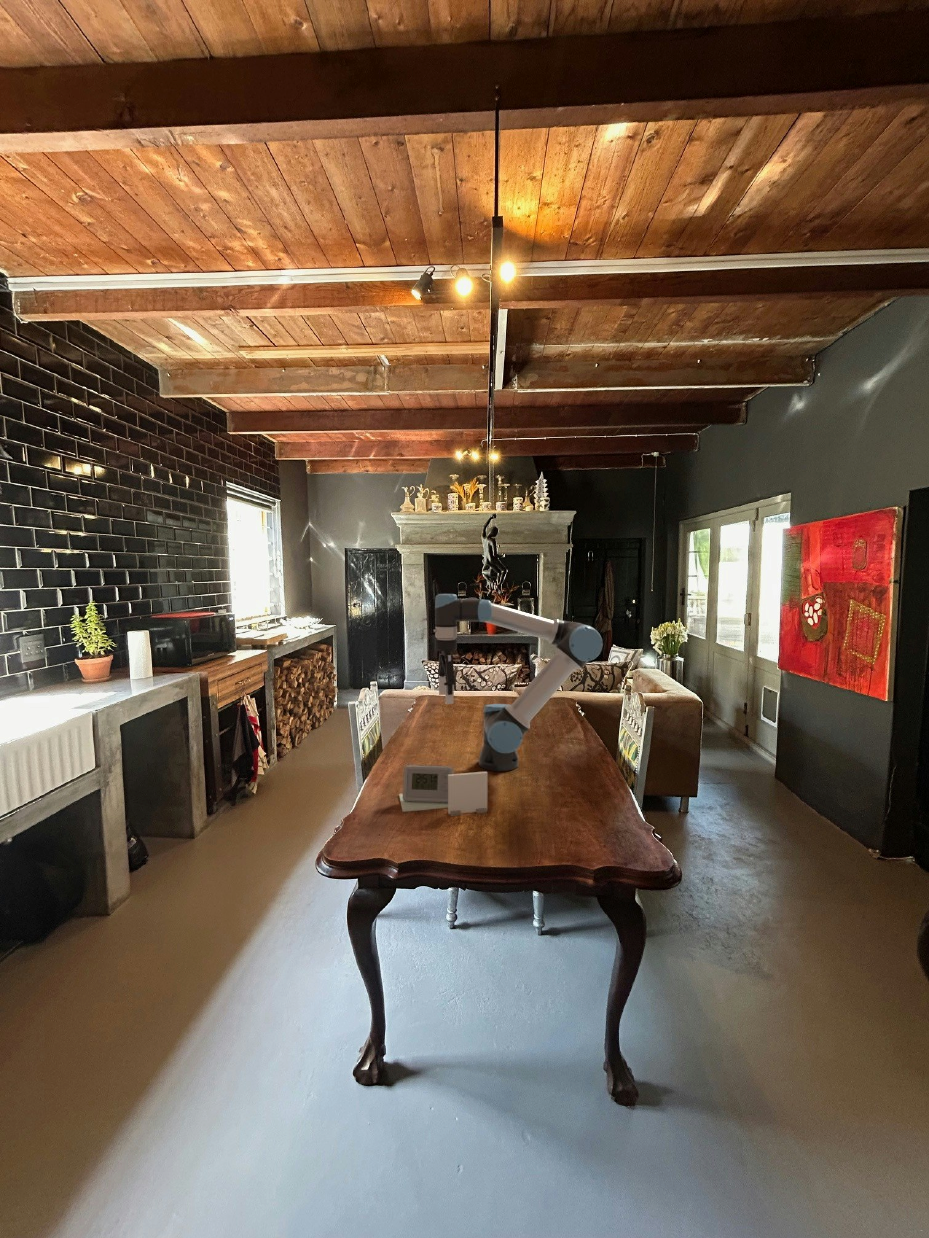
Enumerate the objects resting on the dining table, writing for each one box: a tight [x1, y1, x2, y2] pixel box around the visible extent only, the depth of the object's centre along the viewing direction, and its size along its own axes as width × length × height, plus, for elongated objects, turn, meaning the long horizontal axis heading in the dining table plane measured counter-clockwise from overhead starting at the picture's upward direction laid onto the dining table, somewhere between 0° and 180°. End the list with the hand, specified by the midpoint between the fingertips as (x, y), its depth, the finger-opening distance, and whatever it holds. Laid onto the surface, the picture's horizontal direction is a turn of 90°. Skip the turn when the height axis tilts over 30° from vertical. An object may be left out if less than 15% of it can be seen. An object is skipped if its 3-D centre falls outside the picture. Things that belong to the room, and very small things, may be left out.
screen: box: [447, 771, 488, 817], centre depth 163 cm, size 12×4×12 cm, turn 102°
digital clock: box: [402, 764, 455, 803], centre depth 170 cm, size 16×9×11 cm, turn 74°
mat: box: [398, 793, 448, 812], centre depth 171 cm, size 19×12×1 cm, turn 102°
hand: (446, 699), depth 187 cm, fingers open, 13 cm apart
